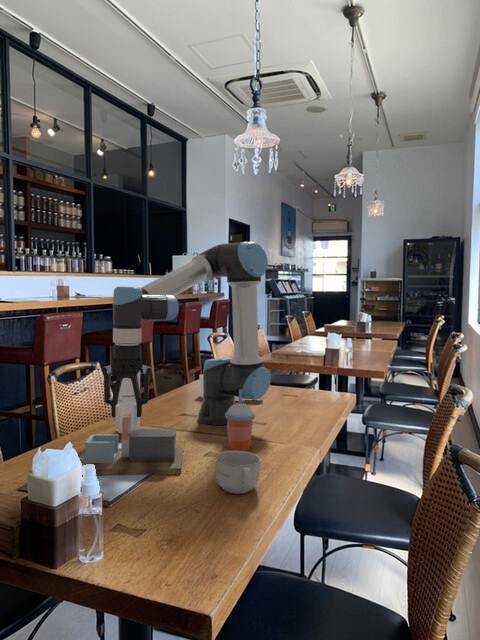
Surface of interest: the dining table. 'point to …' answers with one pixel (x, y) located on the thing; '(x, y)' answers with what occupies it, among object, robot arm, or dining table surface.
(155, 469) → the walnut base board
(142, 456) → the outer sleeve
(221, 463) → the teacup
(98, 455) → the socket block
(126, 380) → the cylindrical container
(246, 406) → the cup with straw
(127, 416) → the grey block with peg
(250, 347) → the robot arm
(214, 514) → the dining table surface
